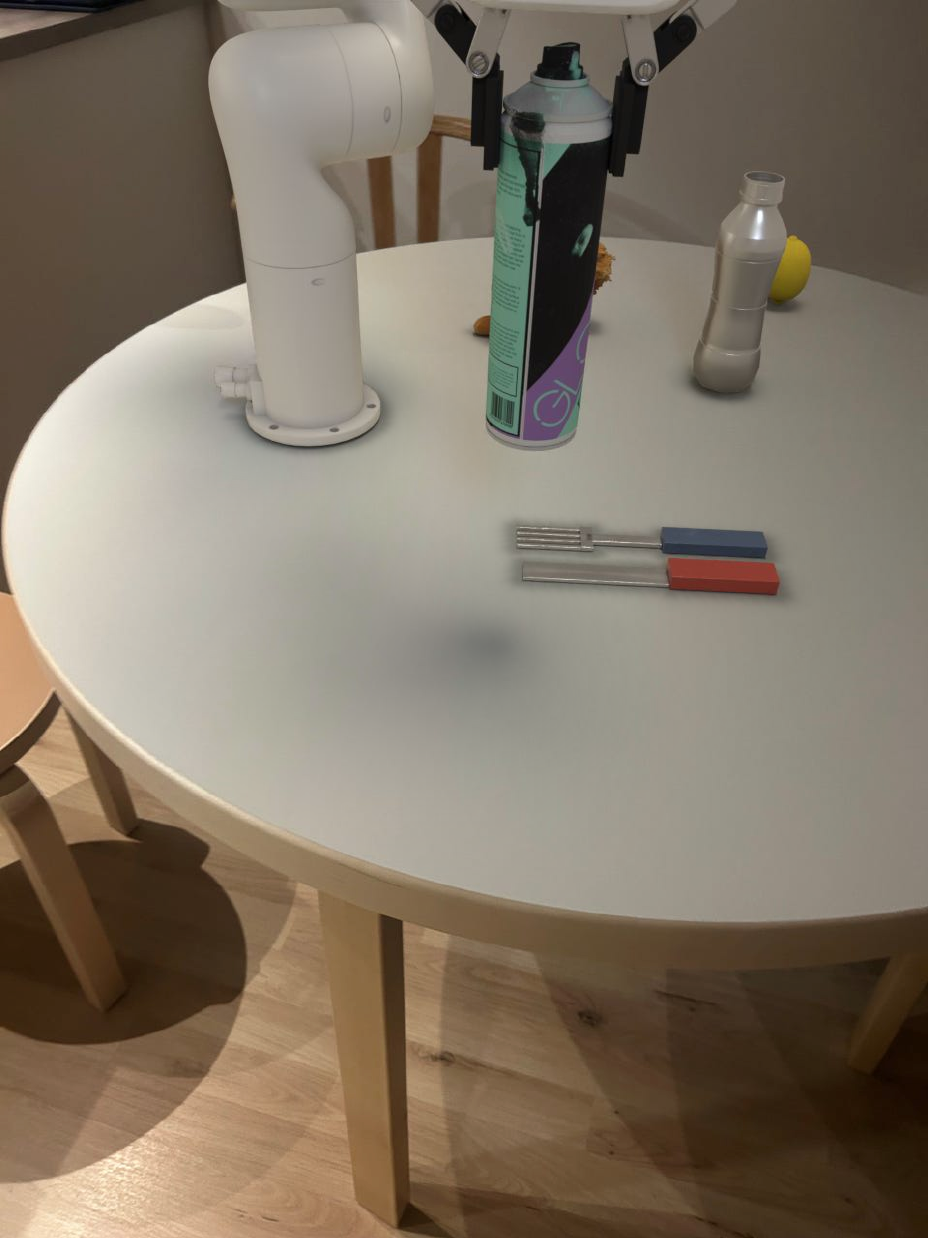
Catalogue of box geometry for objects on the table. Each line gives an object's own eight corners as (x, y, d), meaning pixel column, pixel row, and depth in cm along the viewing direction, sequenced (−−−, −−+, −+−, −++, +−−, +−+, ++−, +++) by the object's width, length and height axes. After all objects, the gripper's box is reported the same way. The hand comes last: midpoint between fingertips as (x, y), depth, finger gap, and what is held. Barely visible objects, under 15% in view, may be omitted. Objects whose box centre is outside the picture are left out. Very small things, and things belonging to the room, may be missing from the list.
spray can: (570, 457, 55) (616, 59, 42) (476, 444, 56) (493, 49, 42) (582, 411, 59) (627, 36, 46) (494, 400, 60) (514, 27, 47)
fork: (516, 548, 75) (517, 537, 75) (517, 527, 78) (517, 517, 77) (766, 560, 75) (768, 549, 74) (759, 539, 77) (762, 529, 76)
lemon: (745, 297, 115) (759, 229, 110) (785, 293, 117) (801, 225, 112) (769, 315, 111) (785, 246, 106) (810, 310, 113) (828, 242, 108)
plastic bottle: (707, 403, 94) (750, 190, 82) (677, 373, 99) (714, 168, 86) (765, 396, 96) (817, 186, 83) (733, 367, 101) (778, 164, 88)
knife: (522, 581, 72) (523, 569, 71) (523, 562, 74) (523, 550, 73) (776, 594, 72) (780, 581, 71) (770, 575, 73) (774, 562, 73)
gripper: (352, -371, 33) (370, 180, 45) (851, -356, 33) (737, 198, 45) (380, -348, 39) (390, 137, 51) (806, -334, 38) (716, 152, 50)
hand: (553, 161), depth 47 cm, fingers closed on spray can, 5 cm apart
